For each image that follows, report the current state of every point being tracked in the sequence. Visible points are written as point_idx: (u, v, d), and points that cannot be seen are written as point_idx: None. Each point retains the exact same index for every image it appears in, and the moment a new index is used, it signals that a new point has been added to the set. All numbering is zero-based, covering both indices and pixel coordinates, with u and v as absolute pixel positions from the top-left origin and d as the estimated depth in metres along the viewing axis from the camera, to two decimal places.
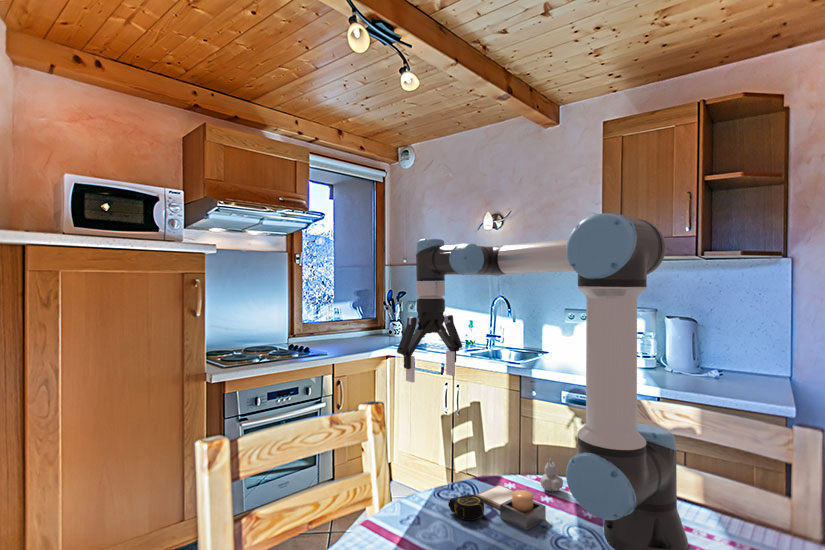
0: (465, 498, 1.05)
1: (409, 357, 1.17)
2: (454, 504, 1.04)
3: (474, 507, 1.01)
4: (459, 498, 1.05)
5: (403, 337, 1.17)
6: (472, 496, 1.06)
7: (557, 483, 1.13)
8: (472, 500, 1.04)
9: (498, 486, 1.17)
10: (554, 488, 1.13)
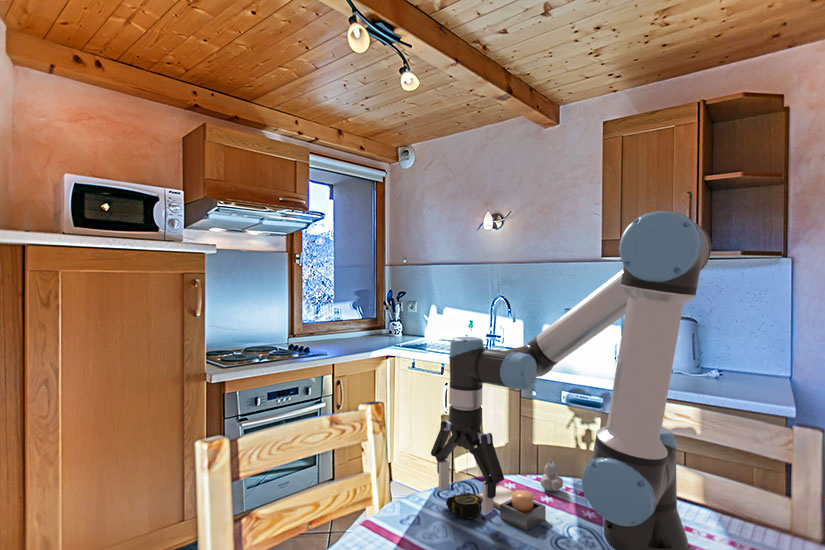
0: (463, 497, 1.06)
1: None
2: (452, 503, 1.04)
3: (472, 506, 1.02)
4: (457, 497, 1.05)
5: None
6: (470, 495, 1.06)
7: (557, 483, 1.13)
8: (470, 499, 1.04)
9: (498, 486, 1.17)
10: (554, 488, 1.13)
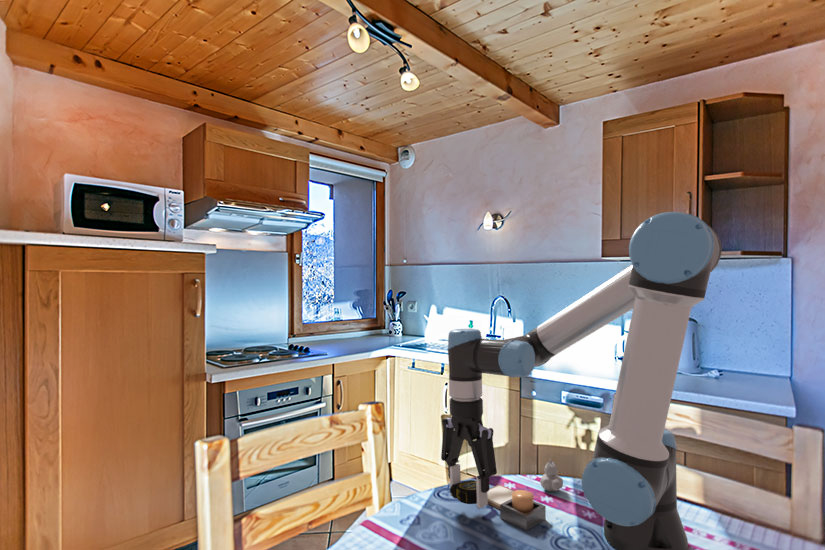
0: (466, 483, 1.05)
1: (450, 466, 1.07)
2: (456, 490, 1.04)
3: None
4: (460, 484, 1.05)
5: None
6: (473, 481, 1.06)
7: (557, 483, 1.13)
8: (474, 485, 1.04)
9: (498, 486, 1.17)
10: (554, 488, 1.13)
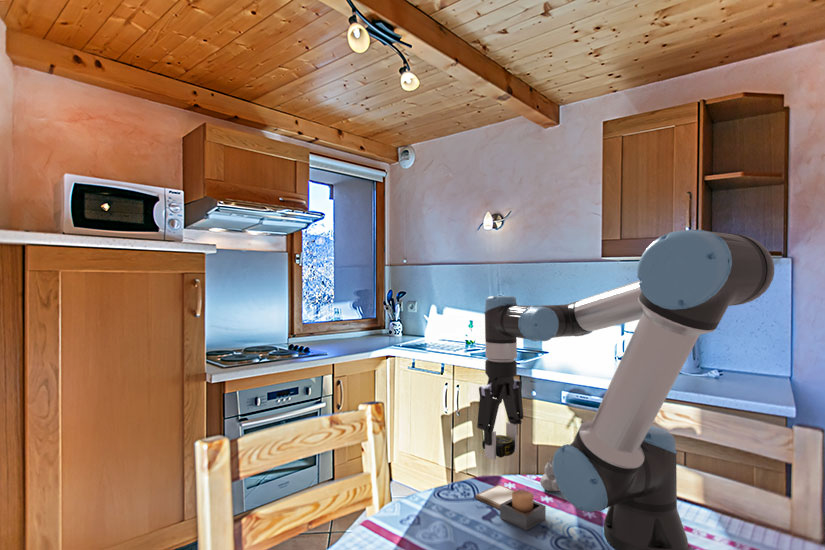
0: (497, 440, 1.12)
1: (490, 432, 1.08)
2: (504, 448, 1.09)
3: None
4: (499, 442, 1.10)
5: (479, 411, 1.08)
6: None
7: None
8: (500, 438, 1.13)
9: (498, 486, 1.17)
10: (554, 488, 1.13)
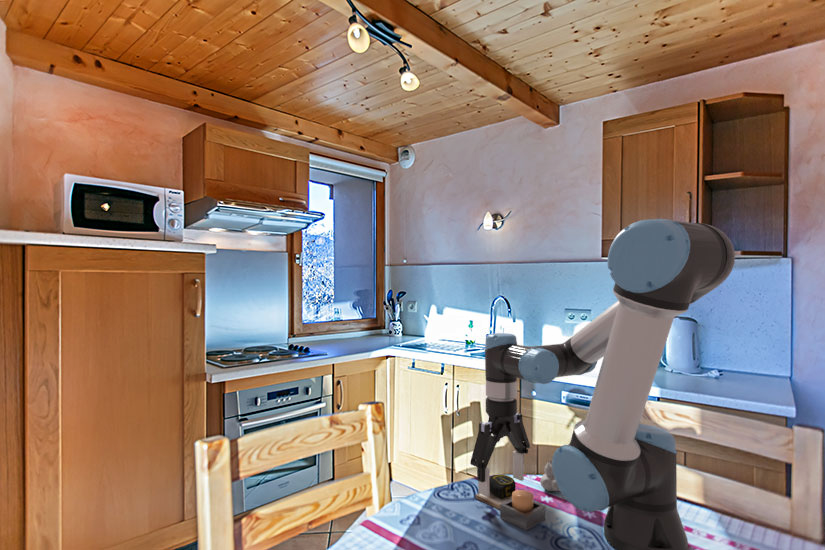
0: (498, 481, 1.11)
1: (484, 469, 1.07)
2: (505, 489, 1.09)
3: None
4: (500, 483, 1.10)
5: (475, 446, 1.07)
6: (492, 478, 1.13)
7: None
8: (500, 478, 1.13)
9: None
10: (554, 488, 1.13)
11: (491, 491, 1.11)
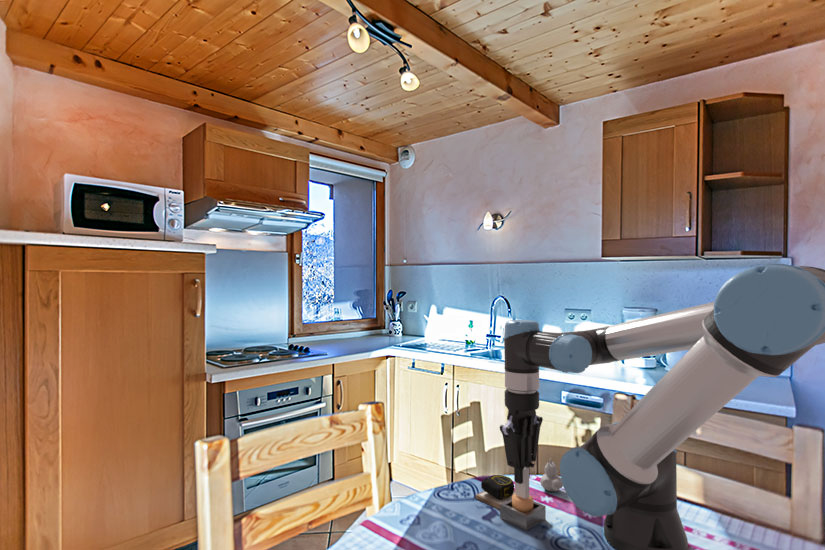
0: (496, 481, 1.11)
1: (521, 470, 1.01)
2: (503, 490, 1.09)
3: None
4: (498, 484, 1.10)
5: (506, 449, 1.00)
6: (491, 478, 1.13)
7: (557, 483, 1.13)
8: (499, 478, 1.13)
9: None
10: (554, 488, 1.13)
11: (489, 492, 1.10)
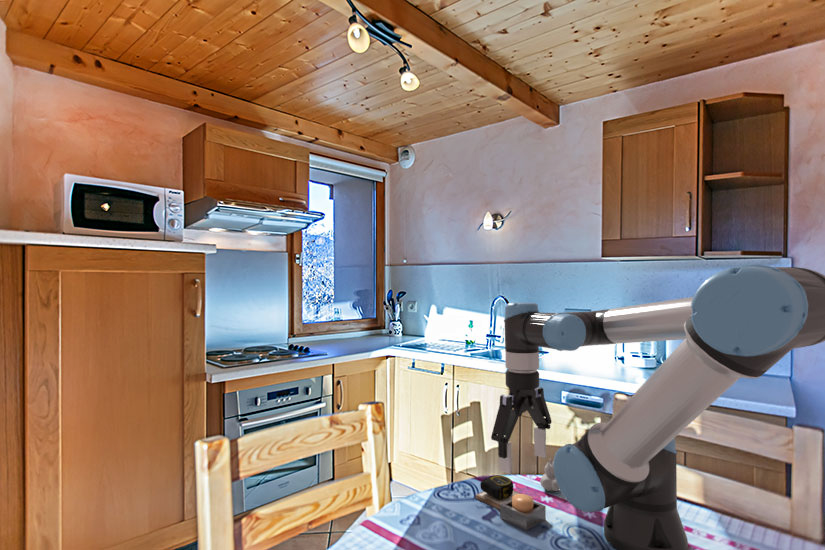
0: (495, 482, 1.11)
1: (505, 444, 1.00)
2: (503, 490, 1.08)
3: None
4: (497, 484, 1.10)
5: (497, 420, 1.00)
6: (490, 479, 1.13)
7: None
8: (498, 479, 1.13)
9: None
10: (554, 488, 1.13)
11: (489, 492, 1.10)
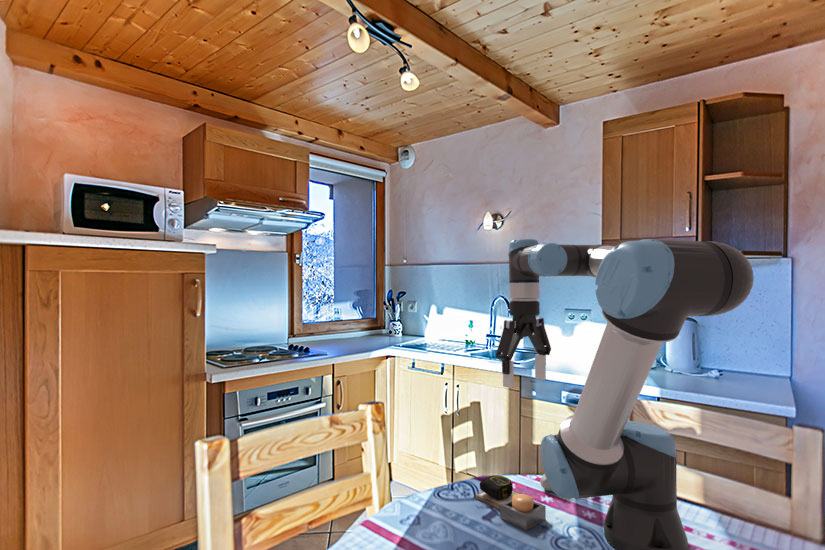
0: (495, 482, 1.11)
1: (508, 362, 1.12)
2: (502, 490, 1.08)
3: None
4: (496, 484, 1.10)
5: (501, 341, 1.13)
6: (489, 479, 1.13)
7: None
8: (497, 479, 1.13)
9: None
10: None
11: (488, 492, 1.10)
